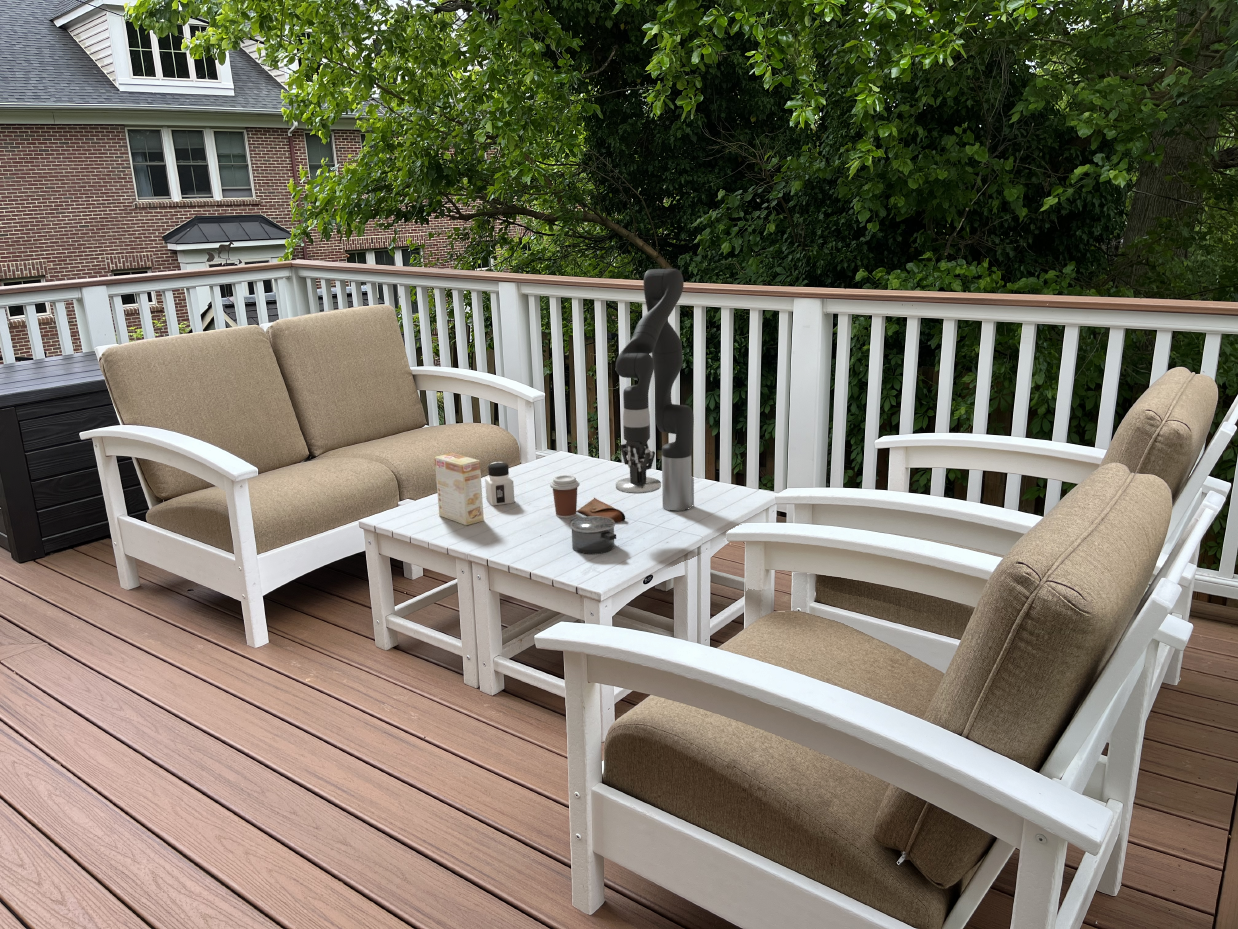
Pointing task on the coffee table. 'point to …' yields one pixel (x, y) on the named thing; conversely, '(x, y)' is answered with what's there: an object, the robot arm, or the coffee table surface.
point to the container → (499, 484)
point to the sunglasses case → (601, 510)
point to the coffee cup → (565, 495)
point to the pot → (592, 534)
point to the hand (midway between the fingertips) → (638, 481)
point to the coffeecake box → (459, 488)
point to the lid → (637, 483)
